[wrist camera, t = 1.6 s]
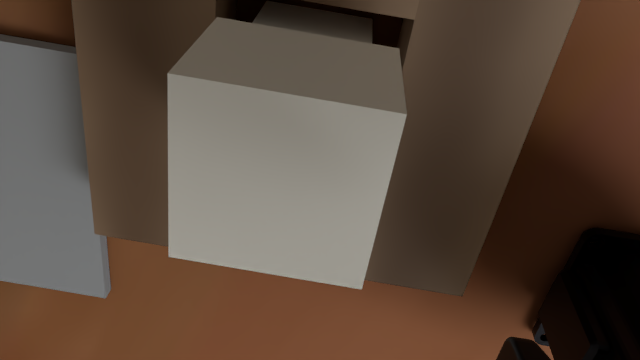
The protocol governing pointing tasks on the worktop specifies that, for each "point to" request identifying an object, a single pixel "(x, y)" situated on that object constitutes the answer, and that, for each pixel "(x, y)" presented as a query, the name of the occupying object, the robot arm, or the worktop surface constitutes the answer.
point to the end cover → (283, 144)
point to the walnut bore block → (415, 144)
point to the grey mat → (46, 173)
